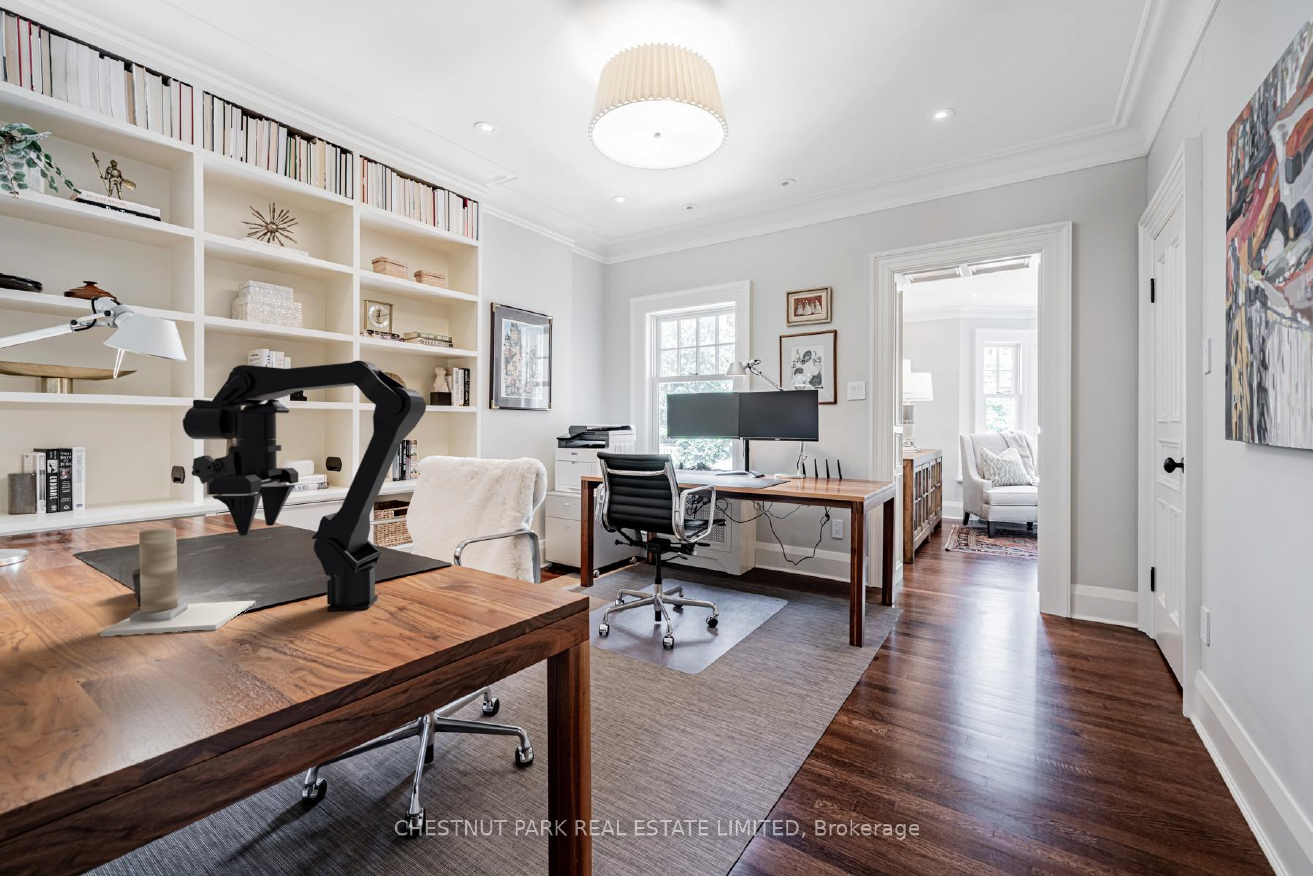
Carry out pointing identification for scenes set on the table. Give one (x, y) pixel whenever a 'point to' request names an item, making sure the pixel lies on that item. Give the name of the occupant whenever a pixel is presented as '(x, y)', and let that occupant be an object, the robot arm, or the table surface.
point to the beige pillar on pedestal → (158, 576)
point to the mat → (184, 619)
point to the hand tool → (137, 585)
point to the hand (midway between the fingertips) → (257, 530)
